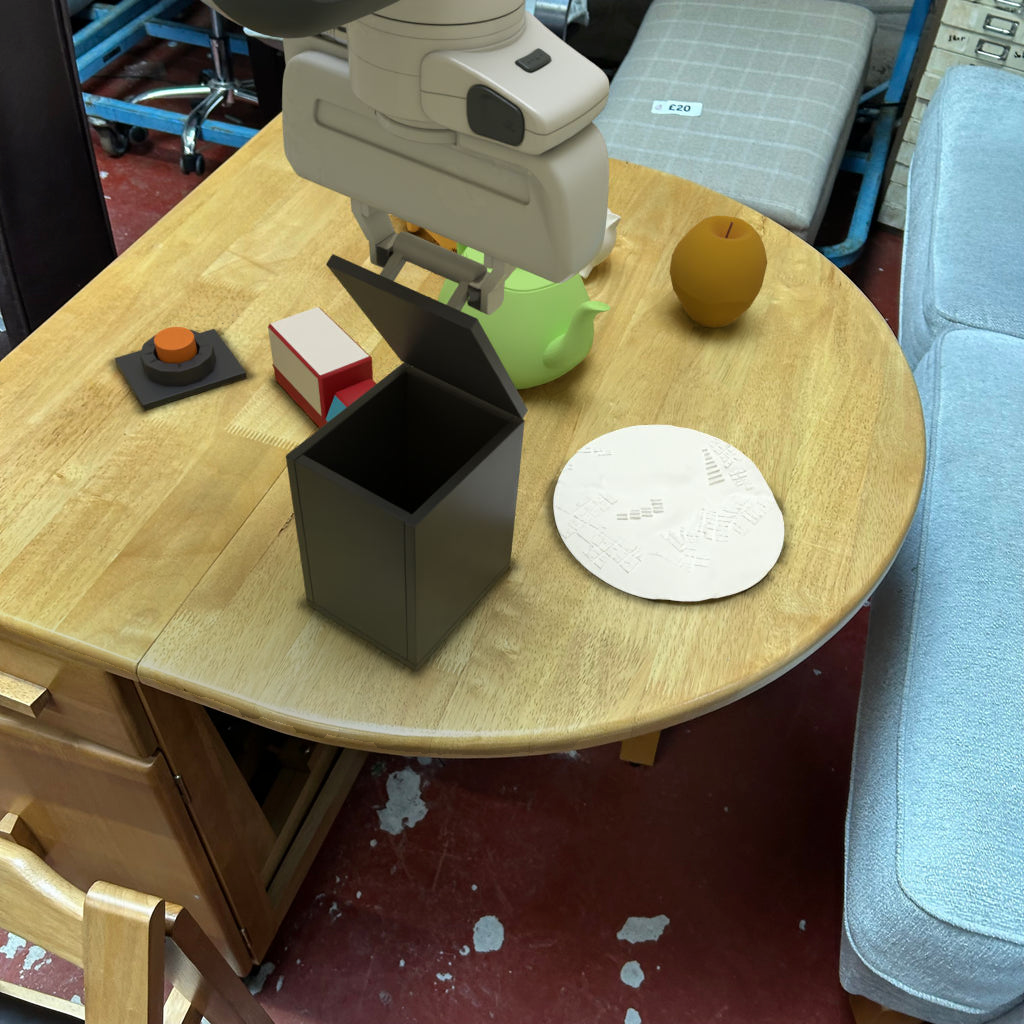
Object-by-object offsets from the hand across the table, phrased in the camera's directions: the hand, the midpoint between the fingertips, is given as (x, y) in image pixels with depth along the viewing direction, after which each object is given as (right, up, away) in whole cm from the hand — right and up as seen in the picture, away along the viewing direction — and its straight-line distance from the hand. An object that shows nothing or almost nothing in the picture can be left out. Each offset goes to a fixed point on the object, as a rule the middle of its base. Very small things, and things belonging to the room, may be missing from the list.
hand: (436, 285), depth 58 cm
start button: (-27, +1, +32) cm, 42 cm away
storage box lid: (-1, -3, +3) cm, 4 cm away
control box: (-27, 0, +34) cm, 43 cm away
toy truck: (-12, -5, +31) cm, 33 cm away
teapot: (+5, +1, +38) cm, 39 cm away
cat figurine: (+12, +16, +53) cm, 56 cm away
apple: (+26, +7, +46) cm, 53 cm away
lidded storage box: (-3, -20, +17) cm, 26 cm away
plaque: (+18, -14, +25) cm, 34 cm away
